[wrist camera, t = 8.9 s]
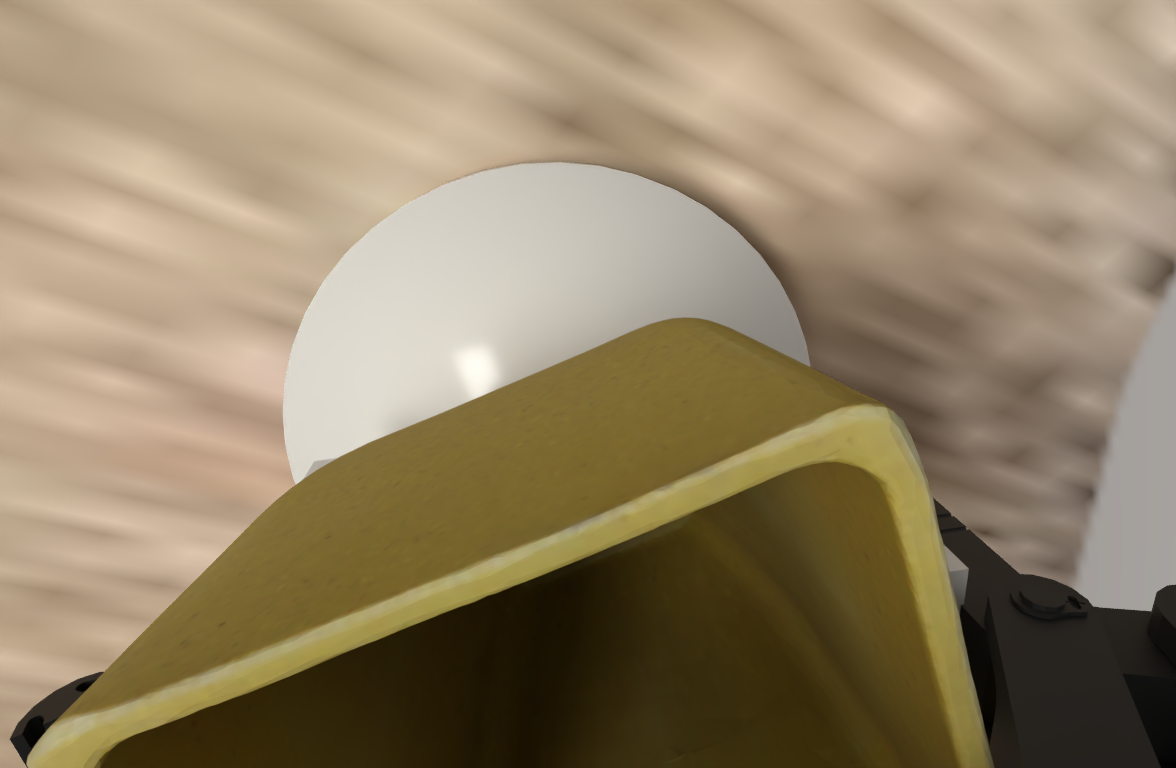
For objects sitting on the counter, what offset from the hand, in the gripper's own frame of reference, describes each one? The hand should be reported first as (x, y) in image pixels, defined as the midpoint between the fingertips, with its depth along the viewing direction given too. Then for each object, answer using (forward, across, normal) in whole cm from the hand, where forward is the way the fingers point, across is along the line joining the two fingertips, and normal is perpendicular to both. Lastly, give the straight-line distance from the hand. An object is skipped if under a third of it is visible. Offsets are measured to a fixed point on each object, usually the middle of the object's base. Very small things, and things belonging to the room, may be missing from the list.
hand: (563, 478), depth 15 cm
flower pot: (0, 0, 0) cm, 0 cm away
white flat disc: (+3, 0, 0) cm, 3 cm away
